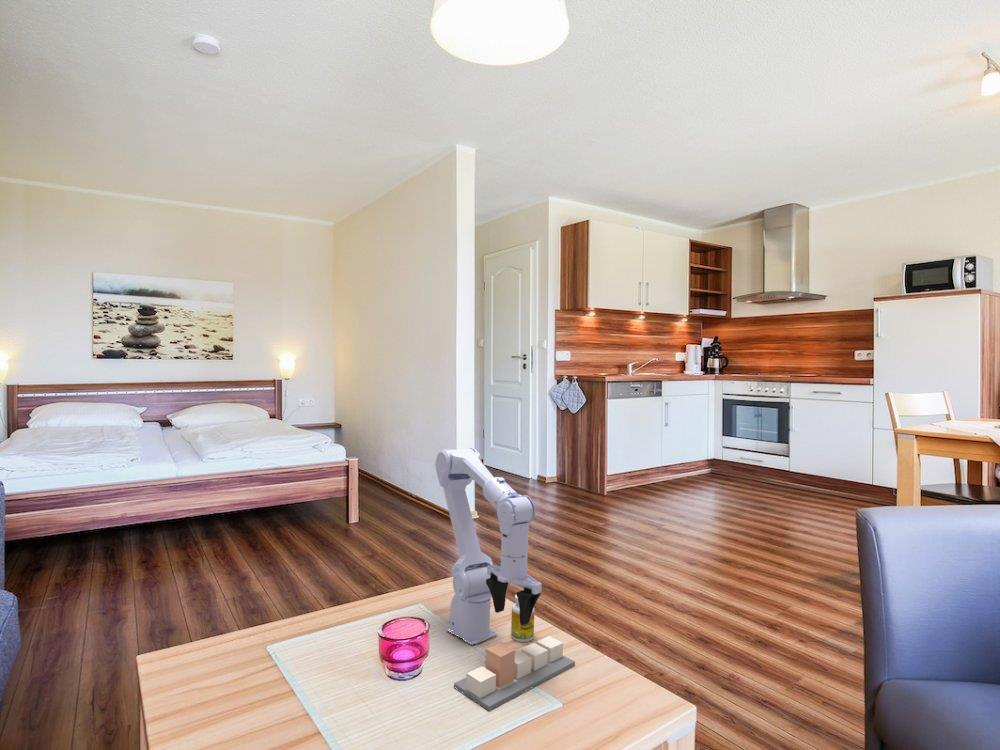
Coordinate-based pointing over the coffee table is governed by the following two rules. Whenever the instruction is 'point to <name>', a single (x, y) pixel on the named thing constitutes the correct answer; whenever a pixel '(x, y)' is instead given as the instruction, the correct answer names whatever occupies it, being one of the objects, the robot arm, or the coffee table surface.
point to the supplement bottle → (521, 631)
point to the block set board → (519, 684)
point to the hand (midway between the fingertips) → (511, 617)
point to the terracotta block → (501, 663)
